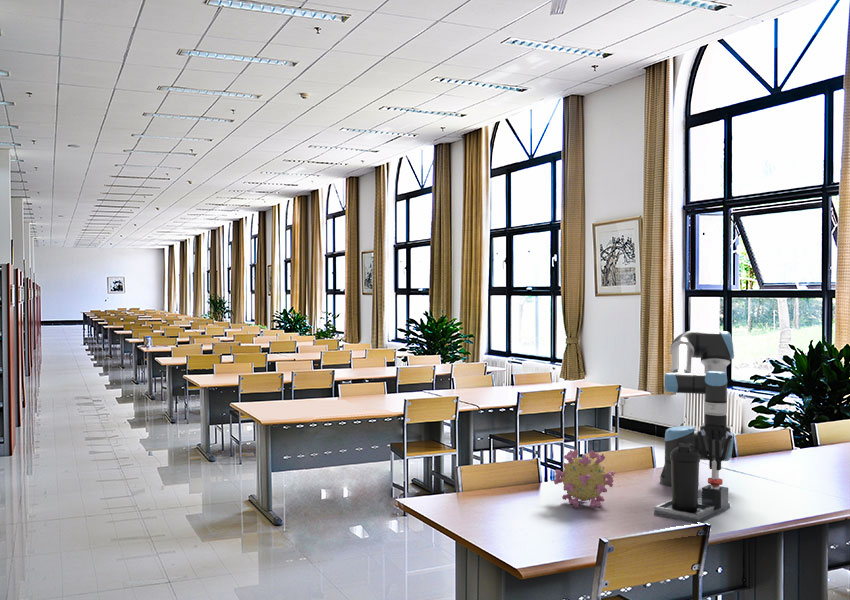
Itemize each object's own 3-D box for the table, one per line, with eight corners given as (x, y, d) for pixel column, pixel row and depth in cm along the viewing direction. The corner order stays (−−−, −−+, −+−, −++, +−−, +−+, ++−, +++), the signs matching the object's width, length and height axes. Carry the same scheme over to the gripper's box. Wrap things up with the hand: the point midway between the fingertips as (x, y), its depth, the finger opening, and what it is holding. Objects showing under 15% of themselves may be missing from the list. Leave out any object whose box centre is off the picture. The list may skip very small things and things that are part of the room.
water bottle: (701, 507, 273) (701, 443, 273) (698, 515, 264) (698, 448, 264) (671, 504, 278) (672, 441, 278) (667, 511, 268) (668, 446, 268)
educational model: (576, 494, 297) (576, 443, 297) (627, 505, 281) (628, 451, 281) (540, 505, 281) (540, 451, 281) (592, 518, 265) (593, 461, 265)
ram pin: (705, 501, 278) (705, 479, 278) (710, 498, 282) (711, 476, 282) (719, 503, 275) (719, 481, 275) (724, 501, 279) (724, 479, 279)
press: (654, 514, 270) (654, 493, 270) (687, 499, 291) (687, 479, 291) (698, 523, 259) (698, 501, 259) (729, 507, 280) (730, 486, 280)
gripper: (694, 413, 280) (693, 477, 280) (729, 416, 271) (729, 483, 271) (702, 411, 286) (701, 474, 286) (737, 414, 277) (737, 479, 277)
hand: (715, 478), depth 278 cm, fingers closed
